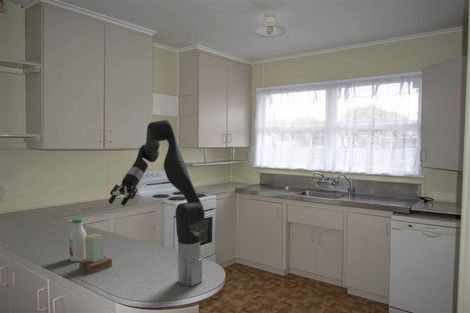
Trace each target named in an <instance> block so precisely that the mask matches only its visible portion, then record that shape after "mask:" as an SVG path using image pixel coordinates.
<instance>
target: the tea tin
mask: <svg viewBox="0 0 470 313" xmlns="http://www.w3.org/2000/svg"><path fill="white" fill-rule="evenodd" d="M85 251H86V261H90V262H97V261H99V260H102V259H104V256H105V253H104V237H103V234H100V233H99V234H98V233H93V234H89V235H86V236H85Z"/></svg>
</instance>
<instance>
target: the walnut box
mask: <svg viewBox="0 0 470 313" xmlns="http://www.w3.org/2000/svg"><path fill="white" fill-rule="evenodd" d="M112 261H113V259H112V258H110V257H107V256H105V255H104V259H102V260H99V261H97V262H90V261H86V259H83V260H80V261H78V262H79V264H78V265H79V269H80V270H82V271H85V272H87V273H89V274H92V275H93V274H95V273H96V274H97V273H98V272H100V271H104V270H106V269H109V268H112V267H113V262H112Z"/></svg>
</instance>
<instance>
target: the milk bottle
mask: <svg viewBox="0 0 470 313" xmlns="http://www.w3.org/2000/svg"><path fill="white" fill-rule="evenodd" d="M83 223H84V219H83V217H75V218H73V219H72V220H71V224H72V228H71V230H70V233H69V241H68V242H69V260H70V261H71V262H79V261H80V260H83V259H86V251H85V236H87V232H86V231H85V228H84V226H83Z"/></svg>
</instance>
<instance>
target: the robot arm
mask: <svg viewBox="0 0 470 313" xmlns="http://www.w3.org/2000/svg"><path fill="white" fill-rule="evenodd" d="M164 141H167V142H168V146H167V151H166V154H165V157H164V162H163V168H164V169H163V170H164V173H165V175H166V178H167V180H168V182H169V183H170V184H171V185H172V186H173V187H174V188H175V189H177V191H179V192H180V193H181V194H182V195H183V197H184V199H185V200H186V202H182V203H179V204H177V206H176V207H175V227H176V228H175V229H176V236H177V270H178V272H177V273H178V274H177V276H178V278H177V279H178V280H177V281H178V284H180V285H181V286H187V287H189V286H190V287H194V286H196V285H198V284H199V283H202V282H203V259H202V258H201V234H200V233H199V232H197V231H194V230H191V229H190V226H191V225H192V226H193V225H196V224H197V225H198V224H200V223H203V222H204V221H205V209H204V206H203V203H202V202H201V199H200V198H199V195H198V194H197V191H196V189H195V188H194V185H193V183H192V180H191V177H190V175H189V172H188V168H187V165H186V163H185V161H184V159H183V155H182V154H181V151H180V148H179V145H178V142H177V138H176V134H175V130H174V128H173V125H172V123H171V121H170V120H168V119H164V120H155V121H152V122H149V123H148V124H147V127H146V141H145V144H142V145H141V146H140V148H139V149H138V152H137V157H136V158H135V159H136V160H135V161H134V163H133V164H132V165H131V167H130V168H129V169H128V171H127V172H126V174H125V175H124V177H123V178H122V180H121V184H120V185H118V184H115V185H114V187H113V188H112V189H111V191H110V192H109V194H110V198H109V199H108V203H109V204H110V205H112V204H113V203H114V201H115V200H116V198H117V197H120V196H122V195H123V196H124V197H123V199H122V200H121V202H120V205H122V207H123V206H126V205H127V203H128V201H130V199H131V200H134V198H135V196H136V194H137V193H138V191H139V189H138V188H137V186H138V185H139V183H140V181H141V180H142V179H143V176H144V174H145V172H147V169H148V167H149V166H148V164H149V163H154V162H157V159H158V158H159V152H160V151H159V149H160V142H164ZM146 161H147V162H146ZM148 162H149V163H148Z"/></svg>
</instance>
